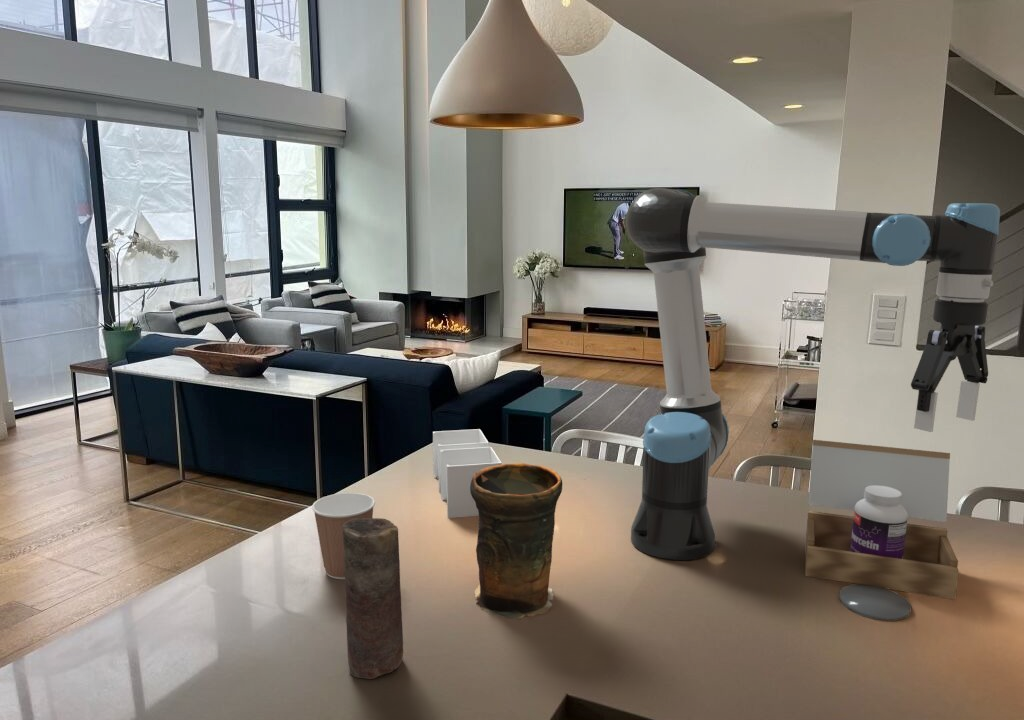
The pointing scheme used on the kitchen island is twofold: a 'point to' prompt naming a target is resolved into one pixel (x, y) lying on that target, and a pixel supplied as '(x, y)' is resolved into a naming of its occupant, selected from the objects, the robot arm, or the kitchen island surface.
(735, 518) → the kitchen island surface
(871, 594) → the grey oval disc
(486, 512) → the vessel
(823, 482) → the lid
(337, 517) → the coffee cup
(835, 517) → the wooden box
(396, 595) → the candle
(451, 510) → the storage container
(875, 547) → the pill bottle
